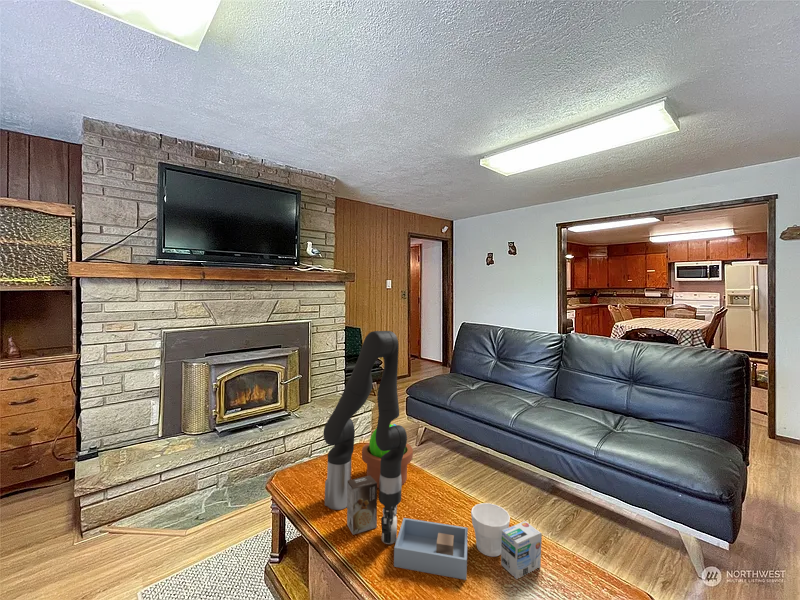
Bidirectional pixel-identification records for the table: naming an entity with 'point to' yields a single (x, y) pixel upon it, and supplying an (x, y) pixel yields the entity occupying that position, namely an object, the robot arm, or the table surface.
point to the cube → (445, 544)
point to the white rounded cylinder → (392, 531)
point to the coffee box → (361, 504)
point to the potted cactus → (373, 458)
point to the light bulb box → (521, 549)
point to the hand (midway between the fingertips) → (389, 536)
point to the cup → (489, 527)
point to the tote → (430, 548)
